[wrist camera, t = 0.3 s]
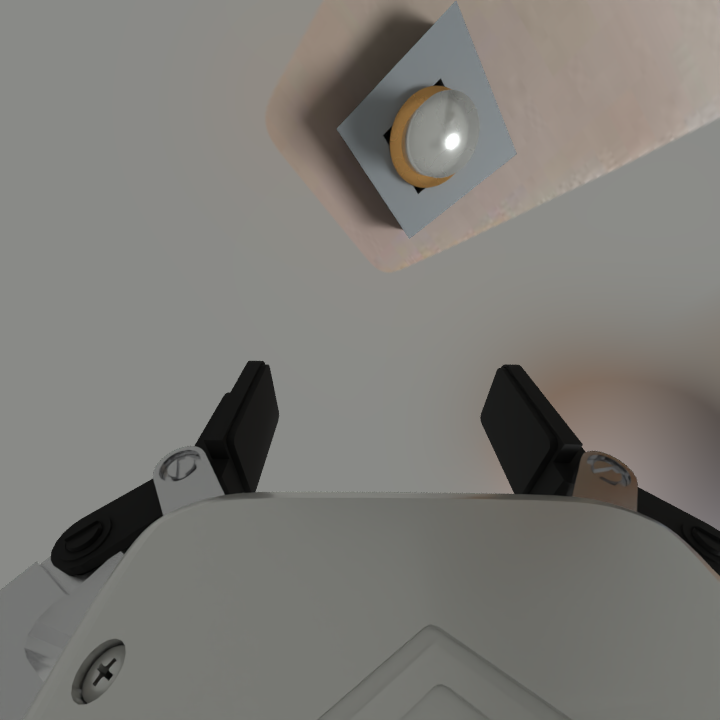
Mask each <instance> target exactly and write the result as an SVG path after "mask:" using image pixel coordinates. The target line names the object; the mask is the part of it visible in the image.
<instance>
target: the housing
mask: <svg viewBox="0 0 720 720" xmlns="http://www.w3.org/2000/svg"><path fill="white" fill-rule="evenodd" d="M430 86H444V87H447V88H450V89H452V90H457V91H460V92H462V93H464V94H465V95H467V96H468V97H469V98H470V99H471V100H472V102H473V103H474V105H475V107H476V109H477V112H478V116H479V122H480V131H479V138H478V142H477V145H476V148H475V150H474V153H473V154H472V156H471V158H470V159H469V161H468V162H467V163H466V164H465V165H464V167H462V168H461V169H460V170H459V171H458V172H456V173H455V174H454V175H453V176H452V177H451V178H450V179H448V180H447V181H446V182H444V183H442V184H440V185H438V186H435V187H430V188H421V187H416V186H414V185H411V184H409V183H408V182H406V181H405V180H403V179H402V178H401V177H400V175H399V174H398V173H397V171H396V170H395V168H394V166H393V163H392V160H391V156H390V149H389V141H390V133H391V128H392V125H393V122H394V120H395V117H396V115H397V113H398V112H399V110H400V109H401V107H402V106H403V104H404V103H405V102H406V101H407V100H408V99H409V98H410V97H411V96H412V95H413V94H415V93H416V92H418V91H419V90H421V89H423V88H426V87H430ZM337 130H338V132H339V133H340V135H341V136H342V138H343V139H344V141H345V142H346V144H347V145H348V147H349V148H350V150H351V151H352V153H353V154H354V156H355V157H356V159H357V160H358V162H359V163H360V165H361V166H362V168H363V169H364V171H365V173H366V174H367V176H368V177H369V179H370V180H371V182H372V183H373V185H374V186H375V188H376V189H377V191H378V192H379V194H380V195H381V197H382V198H383V200H384V201H385V203H386V204H387V206H388V207H389V209H390V210H391V212H392V213H393V215H394V216H395V218H396V219H397V221H398V222H399V224H400V225H401V227H402V228H403V230H404V231H405V233H406V234H407V236H408V238H409V239H410V238H411V237H412V236H414V235H415V234H416V233H417V232H419V231H420V230H421V229H422V228H424V227H425V226H426V225H427V224H429V223H430V222H431V221H432V220H434V219H435V218H436V217H438V216H439V215H440V214H441V213H443V212H444V211H445V210H446V209H448V208H449V207H450V206H451V205H453V204H454V203H455V202H457V201H458V200H459V199H460V198H462V197H463V196H464V195H465V194H467V193H468V192H469V191H470V190H472V189H473V188H474V187H475V186H477V185H478V184H479V183H481V182H482V181H483V180H484V179H486V178H487V177H488V176H489V175H491V174H492V173H493V172H494V171H496V170H497V169H498V168H500V167H501V166H502V165H503V164H505V163H506V162H507V161H508V160H510V159H511V158H512V157H513V156H515V155H516V154H517V153H516V151H515V148H514V146H513V143H512V141H511V138H510V135H509V133H508V130H507V128H506V125H505V123H504V120H503V118H502V115H501V113H500V110H499V108H498V105H497V103H496V100H495V98H494V95H493V92H492V90H491V87H490V85H489V82H488V80H487V77H486V75H485V72H484V70H483V67H482V65H481V62H480V60H479V57H478V55H477V52H476V49H475V47H474V44H473V42H472V39H471V37H470V34H469V32H468V29H467V27H466V24H465V22H464V19H463V17H462V14H461V12H460V9H459V6H458V4H457V1H455V2H454V3H453V4H452V5H451V6H450V7H449V9H448V10H447V11H446V12H445V13H444V14H443V15H442V16H441V17H440V18H439V19H438V20H437V21H436V22H435V24H434V25H433V26H432V27H431V28H430V29H429V30H428V31H427V32H426V33H425V34H424V35H423V36H422V38H421V39H420V40H419V41H418V42H417V43H416V44H415V45H414V46H413V47H412V48H411V49H410V50H409V51H408V53H407V54H406V55H405V56H404V57H403V58H402V59H401V60H400V61H399V62H398V63H397V64H396V65H395V67H394V68H393V69H392V70H391V71H390V72H389V73H388V74H387V75H386V76H385V77H384V78H383V79H382V80H381V82H380V83H379V84H378V85H377V86H376V87H375V88H374V89H373V90H372V91H371V92H370V93H369V94H368V96H367V97H366V98H365V99H364V100H363V101H362V102H361V103H360V104H359V105H358V106H357V107H356V108H355V109H354V111H353V112H352V113H351V114H350V115H349V116H348V117H347V118H346V119H345V120H344V121H343V122H342V123H341V125H340V126H339V127H338V128H337Z"/></svg>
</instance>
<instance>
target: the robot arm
mask: <svg viewBox="0 0 720 720" xmlns="http://www.w3.org/2000/svg"><path fill="white" fill-rule="evenodd" d="M278 418H279V410H278V406H277V401H276V396H275V391H274V386H273V381H272V376H271V371H270V367H269V365H265V363H264V362H263V361H248V363H247V364H246V366H245V368H244V369H243V371H242V373H241V375H240V377H239V378H238V381H237V382H236V384H235V385H234V387H233V389H232V391H231V392H230V393H226V394H225V395H224V397H223V398H222V400H221V402H220V403H219V405H218V407H217V408H216V410H215V412H214V413H213V415H212V417H211V419H210V420H209V422H208V424H207V425H206V427H205V429H204V431H203V433H202V434H201V436H200V438H199V439H198V441H197V443H196V444H195V446H187V447H182V448H179V449H176V450H174V451H172V452H171V453H169V454H167V455H166V456H165V457H164V458H162V459H161V460H160V462H159V463H158V464H157V465H156V467H155V470H154V472H153V479H151V480H150V481H148V482H146V483H144V484H143V485H141V486H139V487H137V488H135V489H134V490H132V491H130V492H129V493H127V494H125V495H123V496H121V497H119V498H118V499H116V500H114V501H112V502H110V503H109V504H107V505H105V506H104V507H102V508H100V509H98V510H96V511H94V512H93V513H91V514H89V515H87V516H86V517H84V518H82V519H81V520H79V521H78V522H76V523H75V524H73V525H72V526H71V527H70V528H69V529H67V530H66V531H65V532H64V533H63V534H62V536H61V537H60V538H59V539H58V540H57V542H56V543H55V546H54V547H53V549H52V552H51V556H50V557H49V558H48V559H46V560H45V561H44V562H43V563H41V564H39V563H38V562H35V563H34V564H33V565H32V566H30V567H29V568H28V569H26V570H25V571H24V572H23V573H21V574H20V575H19V576H17V577H16V578H15V579H14V580H13V581H11V582H10V583H9V584H7V585H6V586H5V587H4V588H2V589H1V590H0V720H720V531H718V530H717V529H715V528H714V527H712V526H710V525H709V524H707V523H705V522H703V521H701V520H699V519H697V518H695V517H693V516H692V515H690V514H688V513H686V512H684V511H682V510H680V509H678V508H677V507H675V506H673V505H671V504H669V503H667V502H665V501H663V500H661V499H659V498H657V497H656V496H654V495H652V494H650V493H648V492H646V491H644V490H642V489H640V488H639V487H638V482H637V478H636V476H635V475H634V473H633V472H632V470H631V469H629V468H628V466H627V465H625V464H624V463H622V462H621V461H620V460H619V459H617V458H615V457H613V456H611V455H608V454H606V453H603V452H599V451H588V452H585V451H584V450H583V448H582V443H581V442H580V440H579V439H578V438H577V437H576V435H575V434H574V433H573V432H572V430H571V429H570V428H569V427H568V425H567V424H566V423H565V421H564V420H563V419H562V418H561V416H560V415H559V414H558V413H557V411H556V410H555V409H554V408H553V406H552V405H551V404H550V402H549V401H548V400H547V399H546V397H545V396H544V395H543V394H542V392H541V391H540V390H539V388H538V387H537V386H536V385H535V383H534V382H533V381H532V380H531V378H530V377H529V376H528V374H527V373H526V372H525V371H524V370H523V368H522V367H521V366H520V365H503V366H502V367H501V368H499V369H498V370H497V372H496V375H495V377H494V380H493V383H492V386H491V388H490V391H489V394H488V397H487V399H486V402H485V405H484V407H483V410H482V413H481V423H482V425H483V427H484V429H485V432H486V434H487V436H488V438H489V440H490V442H491V445H492V447H493V449H494V451H495V453H496V455H497V457H498V459H499V462H500V464H501V466H502V468H503V470H504V472H505V475H506V477H507V479H508V481H509V483H510V485H511V488H512V490H513V492H514V494H484V493H481V494H480V493H411V492H400V493H399V492H255V491H256V489H257V485H258V482H259V479H260V476H261V473H262V469H263V466H264V463H265V460H266V457H267V454H268V451H269V448H270V444H271V441H272V438H273V435H274V432H275V428H276V426H277V423H278Z"/></svg>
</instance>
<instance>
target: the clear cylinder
mask: <svg viewBox="0 0 720 720" xmlns="http://www.w3.org/2000/svg"><path fill="white" fill-rule="evenodd" d="M479 131H480V122H479V116H478V112H477V109H476V107H475V105H474V103H473V102H472V100H471V99H470V98H469V97H468V96H467V95H465V94H464V93H462V92H460V91H457V90H452V89H450V88H447V87H444V86H430V87H426V88H423V89H421V90H419V91H418V92H416V93H415V94H413V95H412V96H411V97H410V98H409V99H408V100H407V101H406V102H405V103H404V104H403V106H402V107H401V109H400V110H399V112H398V113H397V115H396V117H395V120H394V122H393V125H392V128H391V133H390V141H389V149H390V156H391V160H392V163H393V166H394V168H395V170H396V171H397V173H398V174H399V175H400V177H401V178H402V179H403V180H405V181H406V182H408V183H409V184H411V185H414V186H416V187H421V188H430V187H435V186H438V185H440V184H442V183H444V182H446V181H447V180H448V179H450V178H451V177H452V176H453V175H454V174H455V173H456V172H458V171H459V170H460V169H461V168H462V167H464V165H465V164H466V163H467V162H468V161H469V159H470V158H471V156H472V154H473V153H474V150H475V148H476V145H477V142H478V138H479Z"/></svg>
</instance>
